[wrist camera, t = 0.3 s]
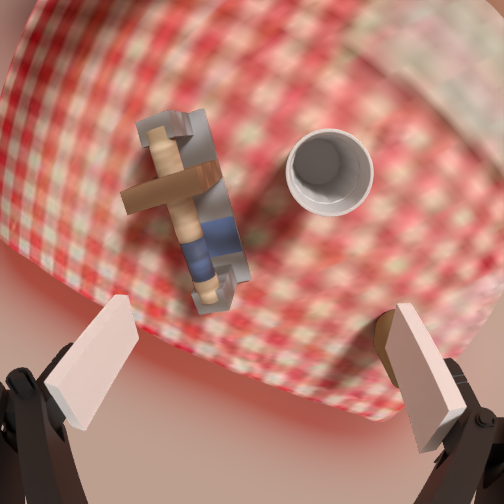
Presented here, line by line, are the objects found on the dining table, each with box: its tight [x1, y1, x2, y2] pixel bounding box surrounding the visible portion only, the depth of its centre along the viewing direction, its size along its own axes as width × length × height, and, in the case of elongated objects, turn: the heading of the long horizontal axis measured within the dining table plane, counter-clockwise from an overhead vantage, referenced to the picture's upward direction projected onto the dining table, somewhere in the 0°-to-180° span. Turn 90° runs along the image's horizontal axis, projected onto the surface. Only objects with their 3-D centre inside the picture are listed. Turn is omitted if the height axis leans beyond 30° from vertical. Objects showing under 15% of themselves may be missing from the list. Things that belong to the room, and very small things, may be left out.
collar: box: [120, 158, 223, 215], centre depth 33 cm, size 2×8×10 cm, turn 105°
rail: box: [136, 109, 252, 315], centre depth 36 cm, size 24×8×8 cm, turn 14°
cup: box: [286, 129, 373, 217], centre depth 31 cm, size 8×8×12 cm
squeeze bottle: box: [373, 309, 399, 388], centre depth 36 cm, size 8×8×18 cm
